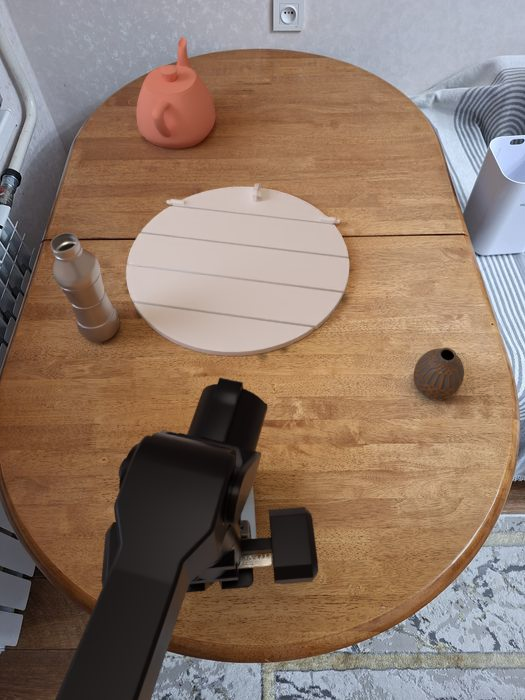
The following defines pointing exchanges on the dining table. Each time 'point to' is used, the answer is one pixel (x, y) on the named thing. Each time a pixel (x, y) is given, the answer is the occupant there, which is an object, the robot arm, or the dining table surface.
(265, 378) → the dining table surface
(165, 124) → the teapot
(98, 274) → the plastic bottle
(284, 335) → the lazy susan
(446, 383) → the vase
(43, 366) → the dining table surface
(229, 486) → the robot arm
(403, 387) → the dining table surface
